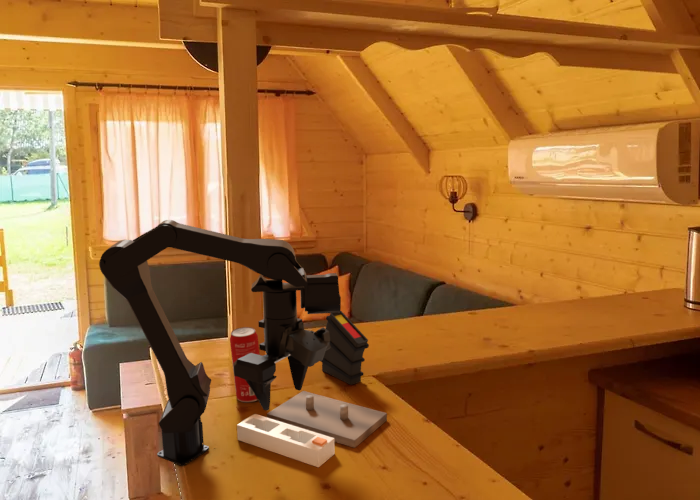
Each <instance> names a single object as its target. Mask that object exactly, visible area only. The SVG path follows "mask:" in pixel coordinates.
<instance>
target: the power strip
mask: <svg viewBox="0 0 700 500" xmlns="http://www.w3.org/2000/svg"><path fill="white" fill-rule="evenodd" d="M236 431H237V441H240V442H243V443H246V444H249V445H251V446H255V447H258V448H261V449H264V450H265V451H266V450H267V451H270V452H273V453H276V454H278V455H281V456H284V457H287V458H290V459H292V460H296V461H298V462H302V463H303V464H304V463H305V464H308V465H310V466H314V467H317V468H319V467H321V466H322V465H323V464H325V462H327V461H328V460H329V459H331V458H332V457H333V456H334V455H335V453H336V451H335V443H336V442H335V441H334V438H332V437H329V436H326V435H323V434H319V433H316V432H313V431H310V430H306V429H303V428H300V427H296V426H293V425H290V424H287V423H283V422H280V421H277V420H274V419H270V418H267V416H263V415H260V414H257V413H254V414H252V415H250V416H249V417H247V418H245V419H243V420H242V421H241V422H239V423H238V424H236Z"/></svg>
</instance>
